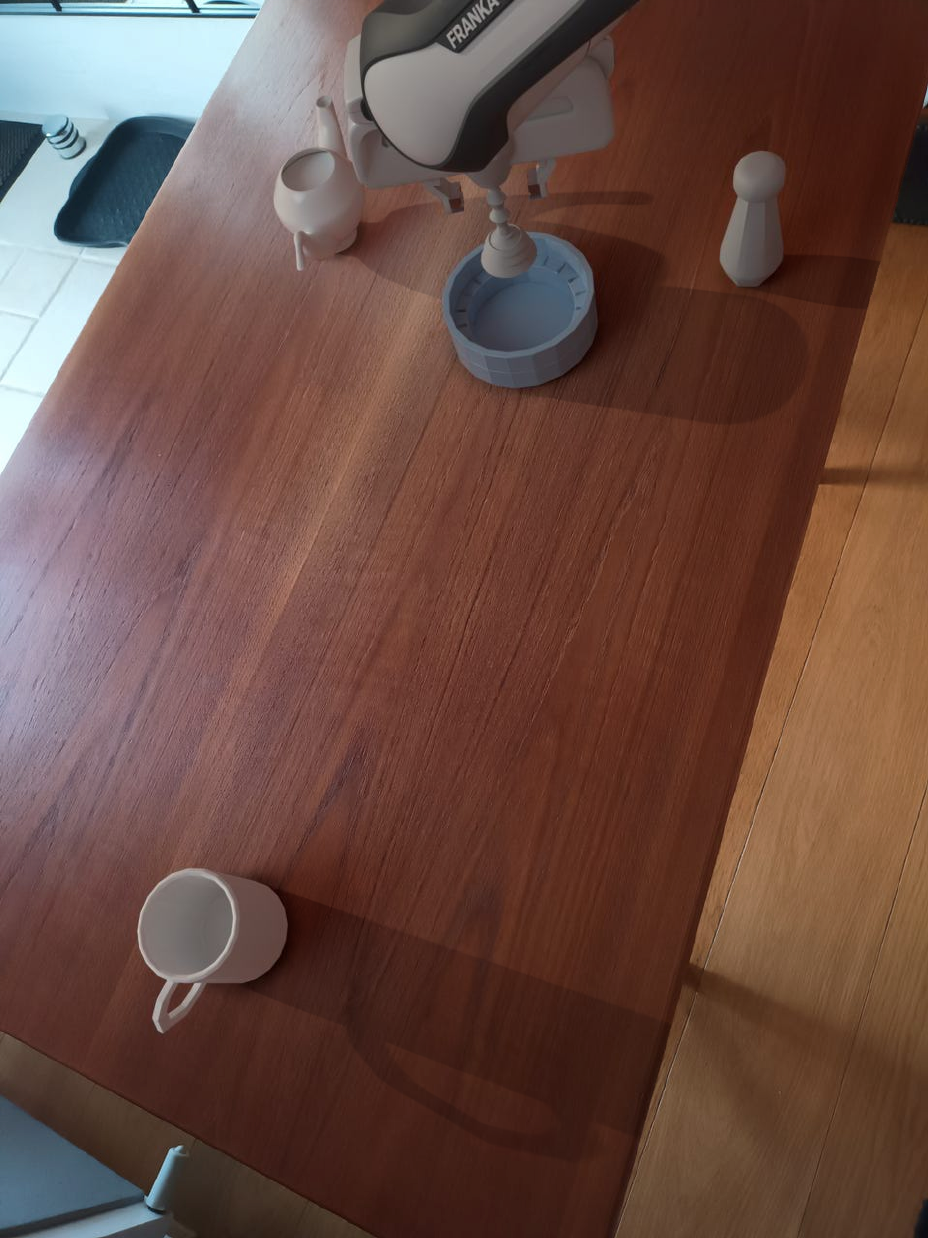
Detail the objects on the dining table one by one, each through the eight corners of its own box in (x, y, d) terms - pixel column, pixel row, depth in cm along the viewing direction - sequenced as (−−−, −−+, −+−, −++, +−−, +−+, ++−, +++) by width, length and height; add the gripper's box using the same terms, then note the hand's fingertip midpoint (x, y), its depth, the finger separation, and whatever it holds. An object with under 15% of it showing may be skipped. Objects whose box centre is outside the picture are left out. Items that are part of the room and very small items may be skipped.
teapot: (279, 312, 102) (243, 251, 94) (312, 167, 109) (282, 98, 100) (364, 310, 100) (335, 247, 91) (393, 162, 106) (368, 90, 98)
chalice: (461, 283, 85) (410, 115, 69) (478, 222, 87) (432, 45, 71) (541, 288, 83) (508, 116, 67) (556, 225, 85) (528, 43, 69)
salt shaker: (775, 241, 93) (790, 131, 81) (786, 288, 90) (803, 182, 79) (713, 252, 94) (720, 146, 82) (723, 299, 91) (731, 197, 80)
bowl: (592, 260, 96) (588, 220, 91) (603, 380, 91) (599, 344, 86) (453, 282, 99) (441, 244, 94) (455, 400, 94) (443, 367, 89)
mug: (161, 1008, 78) (94, 1012, 69) (221, 867, 82) (165, 853, 72) (244, 1048, 76) (186, 1056, 67) (303, 900, 79) (255, 890, 70)
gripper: (609, -13, 66) (619, 148, 78) (326, 47, 69) (379, 191, 82) (616, 52, 63) (625, 207, 76) (323, 110, 67) (379, 249, 80)
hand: (496, 199), depth 79 cm, fingers closed on chalice, 5 cm apart
